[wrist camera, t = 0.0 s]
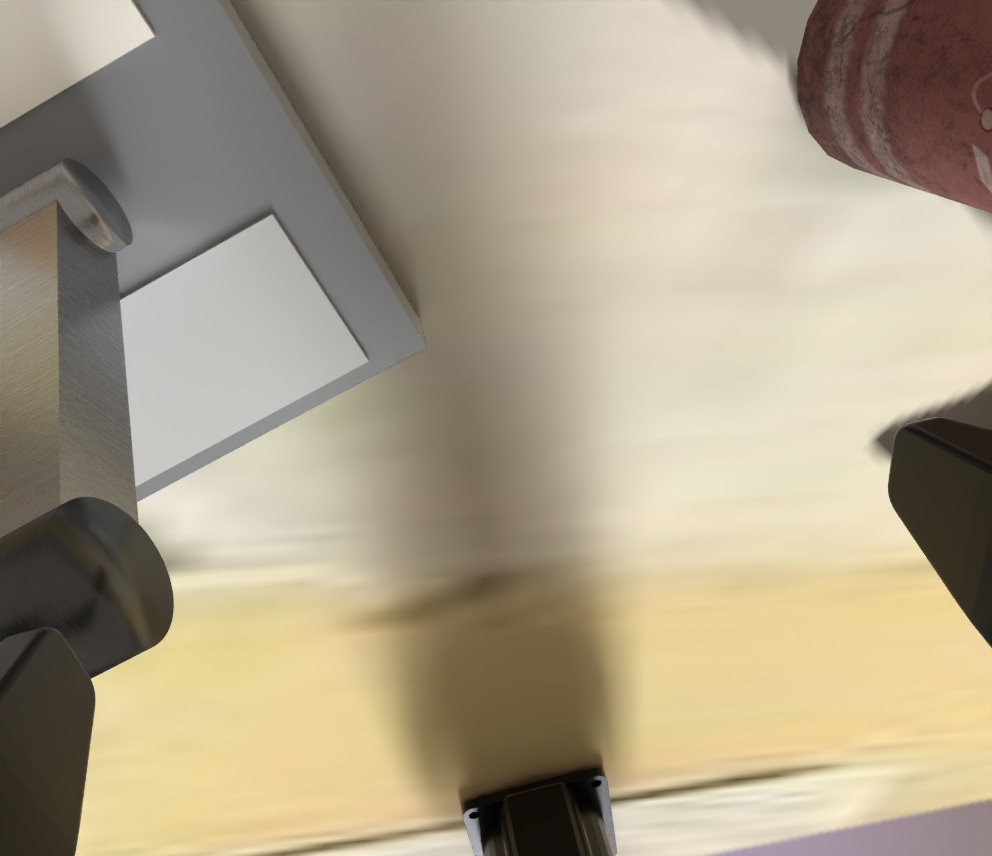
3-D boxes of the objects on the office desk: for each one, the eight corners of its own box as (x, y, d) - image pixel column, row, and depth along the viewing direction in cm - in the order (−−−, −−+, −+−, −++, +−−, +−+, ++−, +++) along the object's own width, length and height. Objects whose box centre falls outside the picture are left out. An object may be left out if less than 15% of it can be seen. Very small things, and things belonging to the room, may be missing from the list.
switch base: (420, 320, 22) (427, 351, 20) (23, 534, 23) (-8, 583, 21) (79, -253, 15) (38, -293, 13) (-466, 95, 16) (-579, 108, 14)
